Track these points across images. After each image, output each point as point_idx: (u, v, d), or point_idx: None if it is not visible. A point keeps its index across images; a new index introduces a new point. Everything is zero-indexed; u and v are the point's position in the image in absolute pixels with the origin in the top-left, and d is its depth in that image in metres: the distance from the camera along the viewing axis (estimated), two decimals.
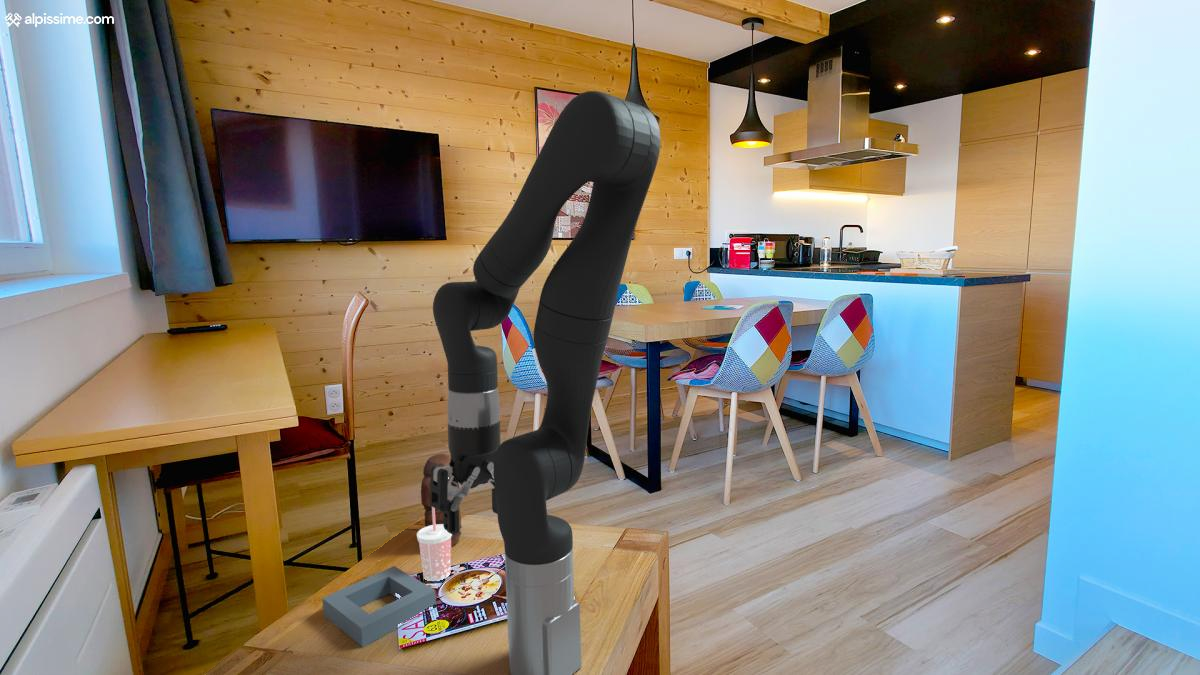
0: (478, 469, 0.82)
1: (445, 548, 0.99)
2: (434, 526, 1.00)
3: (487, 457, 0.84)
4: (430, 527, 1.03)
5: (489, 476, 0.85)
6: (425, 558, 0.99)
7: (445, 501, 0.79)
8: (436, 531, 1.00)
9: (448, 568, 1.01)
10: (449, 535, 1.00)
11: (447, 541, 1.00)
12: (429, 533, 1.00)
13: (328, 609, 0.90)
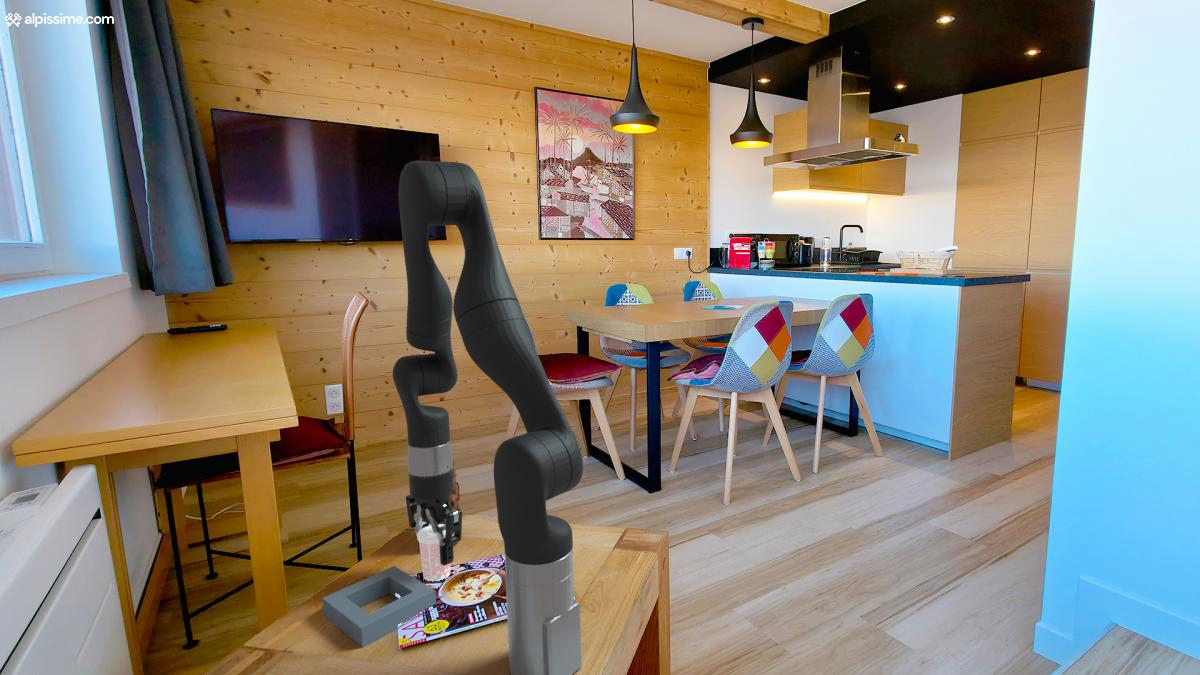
0: None
1: None
2: None
3: None
4: (430, 527, 1.03)
5: None
6: (425, 558, 0.99)
7: None
8: None
9: (448, 568, 1.01)
10: None
11: None
12: (429, 533, 1.00)
13: (328, 609, 0.90)
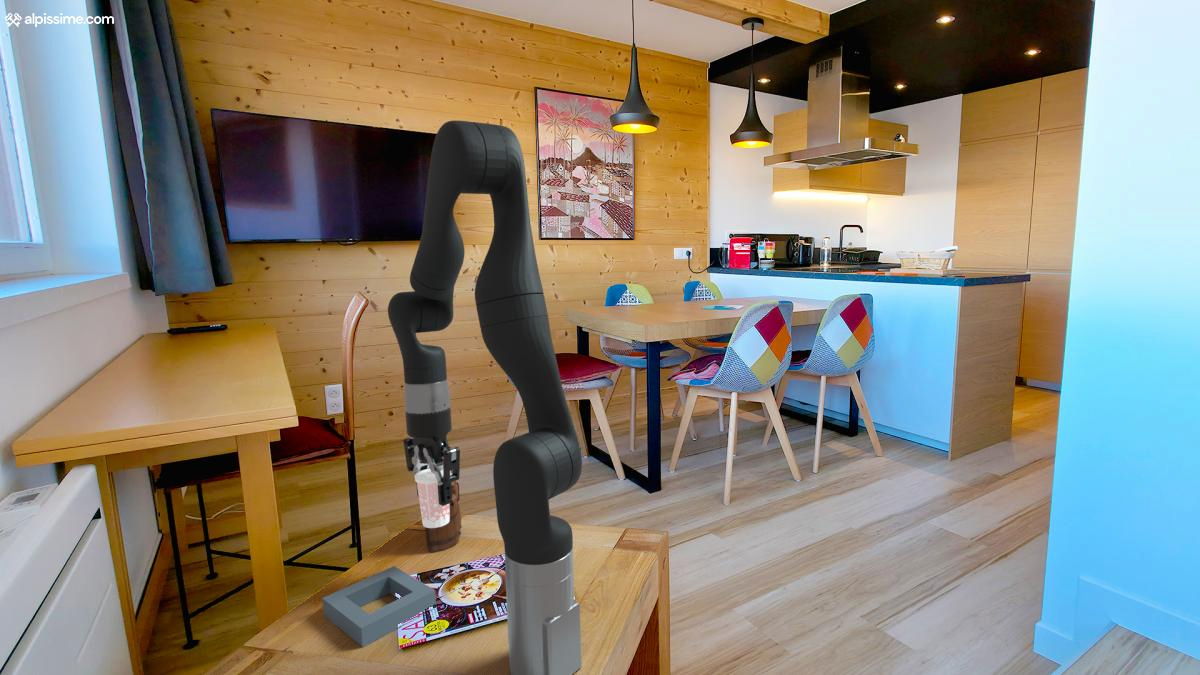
0: None
1: None
2: None
3: None
4: (428, 470, 1.01)
5: None
6: (423, 499, 0.98)
7: None
8: None
9: (447, 510, 0.99)
10: None
11: None
12: (427, 474, 0.99)
13: (328, 609, 0.90)
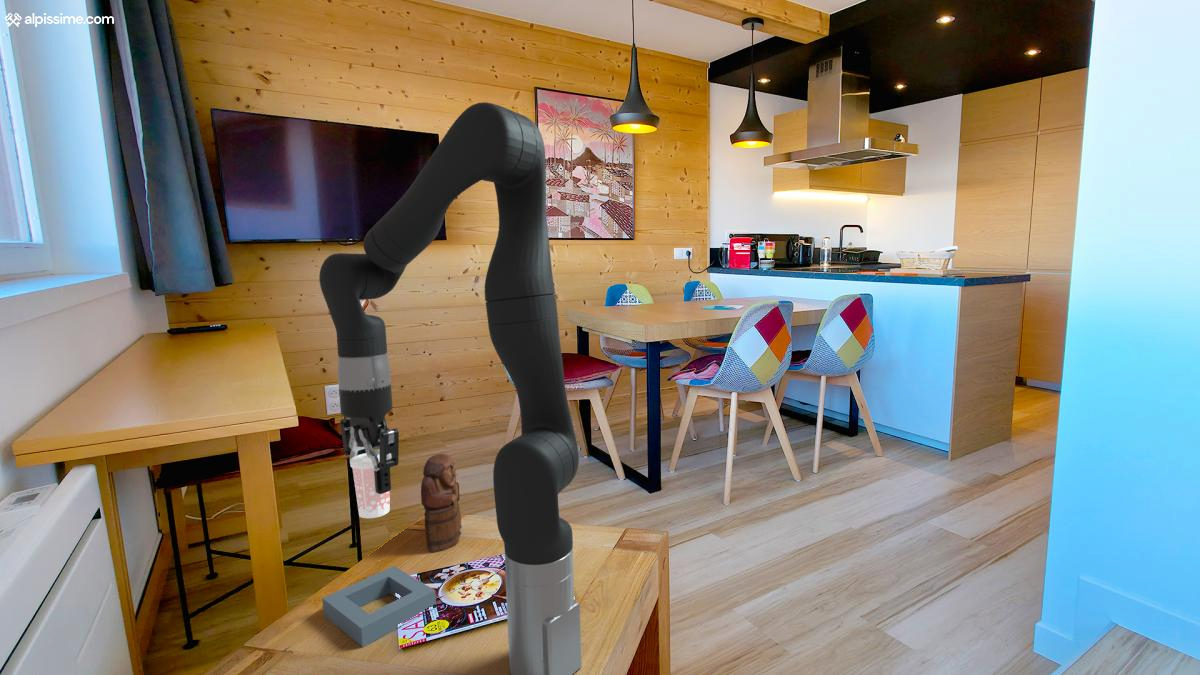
0: None
1: None
2: None
3: None
4: None
5: None
6: (358, 486, 0.87)
7: None
8: None
9: (386, 499, 0.89)
10: None
11: None
12: (364, 459, 0.89)
13: (328, 609, 0.90)
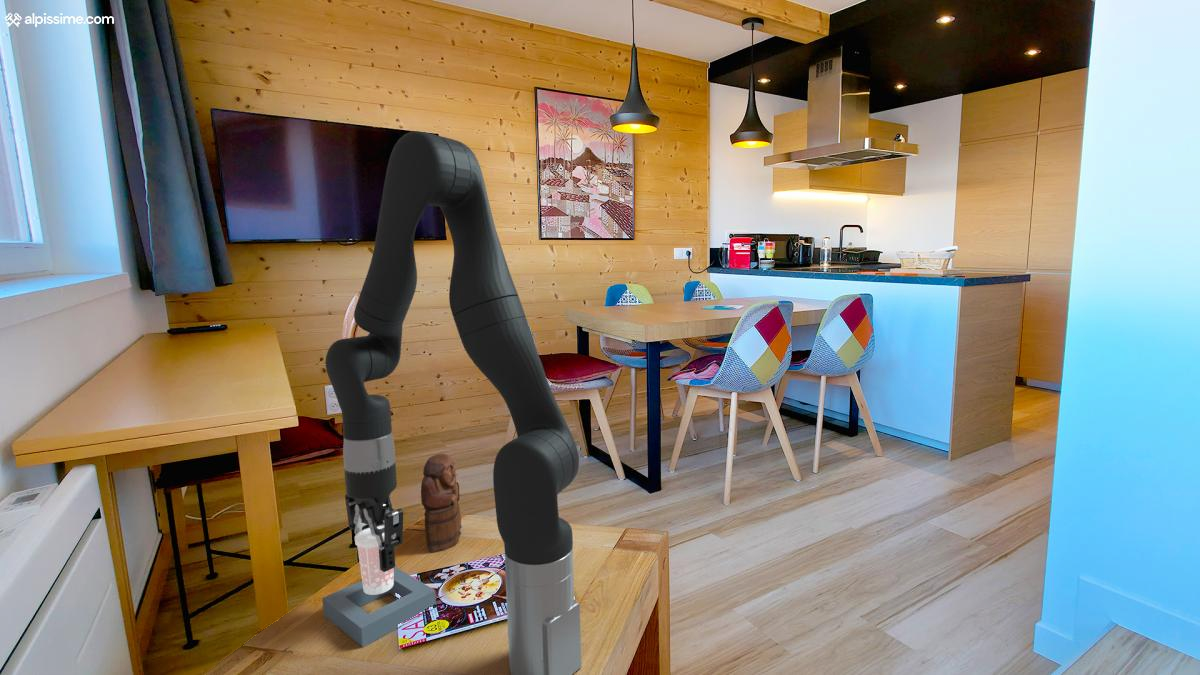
0: None
1: None
2: None
3: None
4: None
5: None
6: (363, 563, 0.89)
7: None
8: None
9: (390, 574, 0.91)
10: None
11: None
12: (368, 536, 0.90)
13: (328, 609, 0.90)
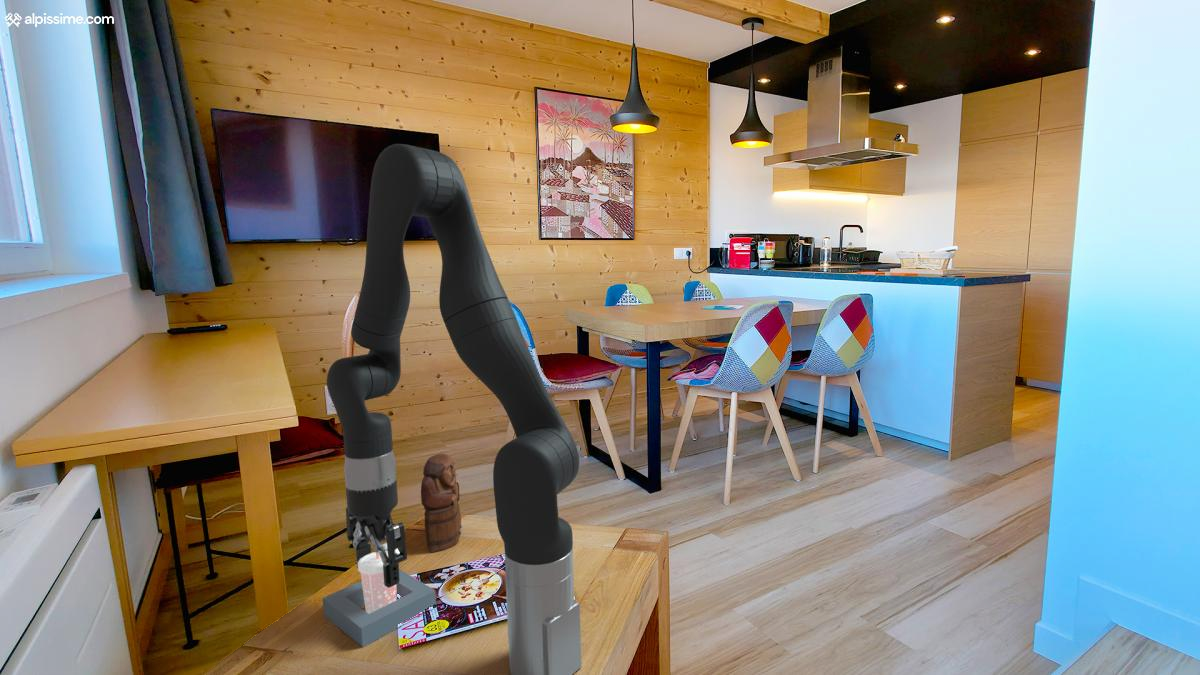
0: None
1: None
2: (377, 554, 0.91)
3: None
4: (374, 554, 0.93)
5: None
6: (366, 589, 0.89)
7: None
8: (379, 559, 0.91)
9: (393, 600, 0.91)
10: None
11: None
12: (371, 562, 0.90)
13: (328, 609, 0.90)
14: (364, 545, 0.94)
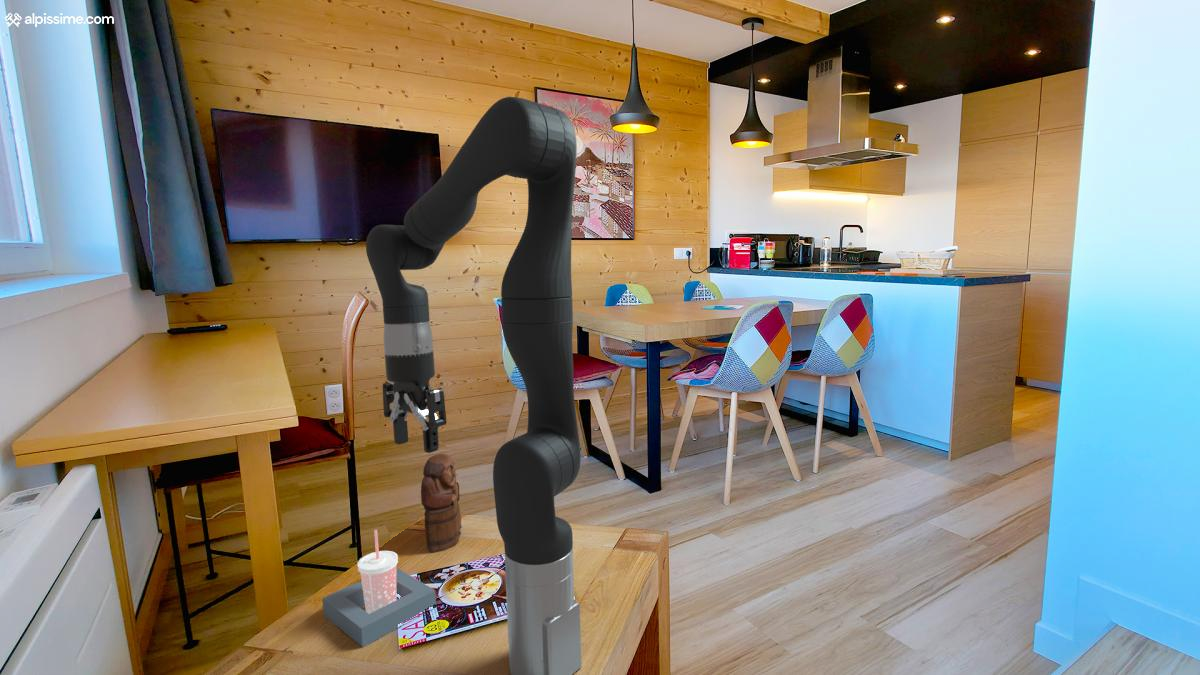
0: None
1: (389, 578, 0.90)
2: (377, 554, 0.91)
3: None
4: (374, 554, 0.93)
5: None
6: (366, 589, 0.89)
7: None
8: (379, 559, 0.91)
9: (393, 600, 0.91)
10: (393, 564, 0.90)
11: (391, 570, 0.90)
12: (371, 562, 0.90)
13: (328, 609, 0.90)
14: (400, 420, 0.96)
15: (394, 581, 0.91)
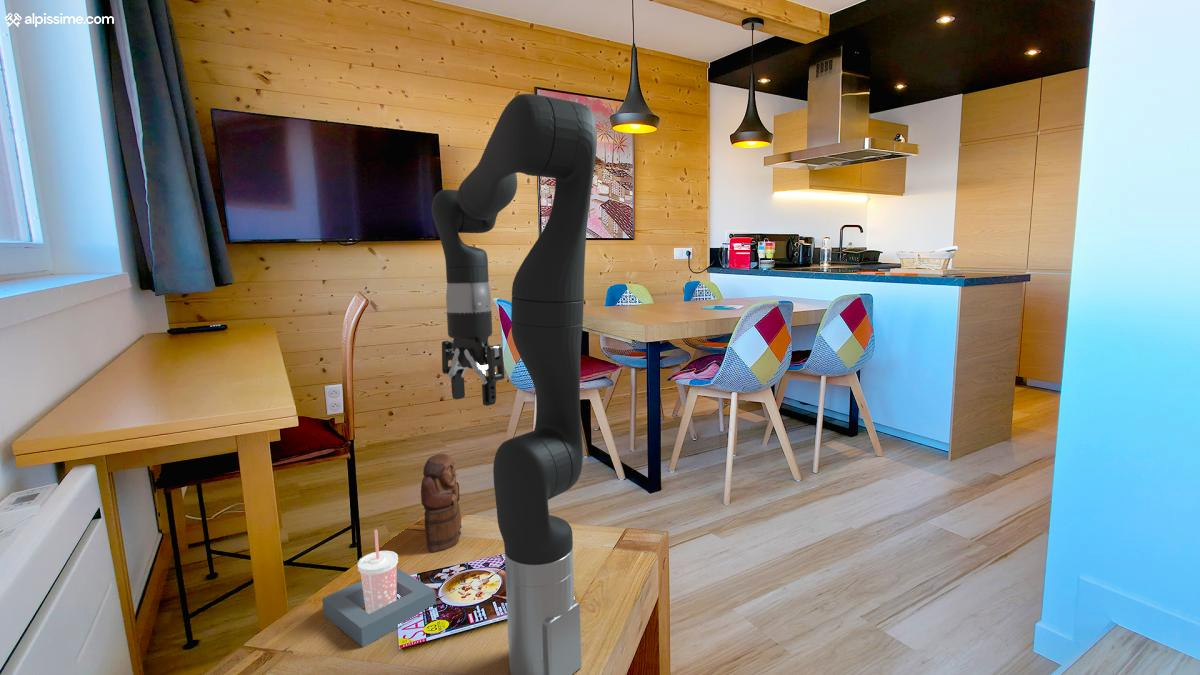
0: None
1: (389, 578, 0.90)
2: (377, 554, 0.91)
3: None
4: (374, 554, 0.93)
5: None
6: (366, 589, 0.89)
7: None
8: (379, 559, 0.91)
9: (393, 600, 0.91)
10: (393, 564, 0.90)
11: (391, 570, 0.90)
12: (371, 562, 0.90)
13: (328, 609, 0.90)
14: (458, 377, 1.02)
15: (394, 581, 0.91)
